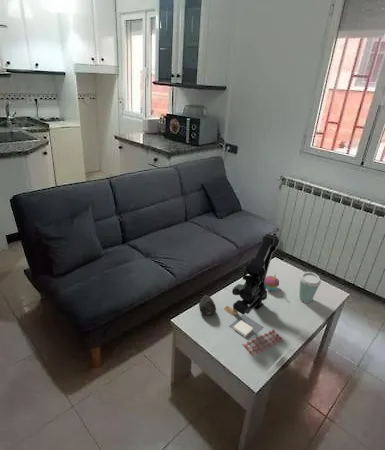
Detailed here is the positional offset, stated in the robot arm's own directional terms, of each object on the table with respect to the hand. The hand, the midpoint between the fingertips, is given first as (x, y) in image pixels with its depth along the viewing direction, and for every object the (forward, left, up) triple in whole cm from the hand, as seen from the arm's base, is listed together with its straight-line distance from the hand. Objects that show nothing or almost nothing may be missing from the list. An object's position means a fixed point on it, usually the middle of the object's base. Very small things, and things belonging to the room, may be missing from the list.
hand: (247, 313), depth 146 cm
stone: (+8, -18, -7) cm, 21 cm away
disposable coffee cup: (-40, +12, -7) cm, 42 cm away
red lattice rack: (+4, +12, -8) cm, 15 cm away
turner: (-2, -10, -7) cm, 12 cm away
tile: (+1, +2, -6) cm, 6 cm away
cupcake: (-33, -6, -7) cm, 35 cm away
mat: (+2, +2, -7) cm, 7 cm away
